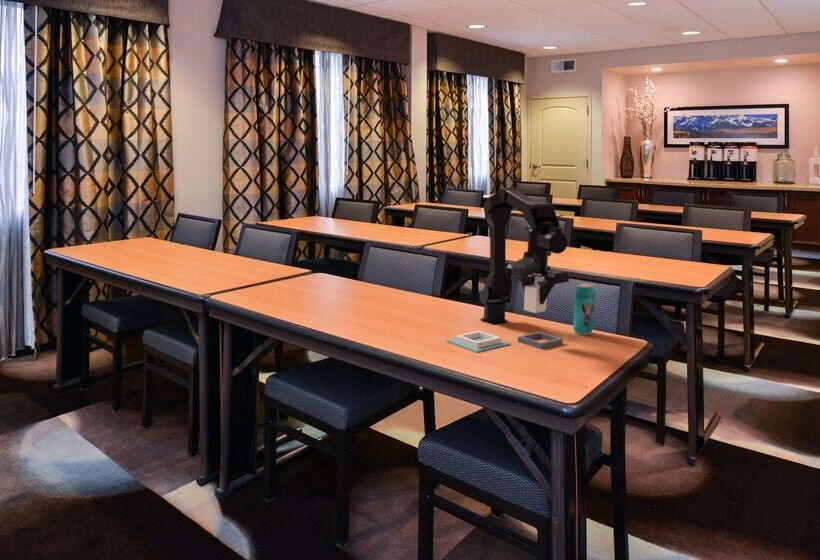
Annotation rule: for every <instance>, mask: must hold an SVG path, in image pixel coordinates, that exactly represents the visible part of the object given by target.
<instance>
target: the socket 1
mask: <svg viewBox="0 0 820 560" xmlns="http://www.w3.org/2000/svg"><path fill="white" fill-rule="evenodd" d="M445 342H447V343H448V344H450V345H451V344H452V345H455V346H457V347H459V348H463V349H465V350H468V351H471V352H474V353H475V354H476V353H481V352H482V353H483V352H486V351H489V350H493V349H494V350H495V349H498V348H502V347H506V346H507V347H508V346H511V343H510V342H507V341H504V340H501V337H500V336H496V335H494V334H490V333H487V332H484V331H481V330H476V331H471V332H466V333H461V334H457V335H455V338H449V339H445Z"/></svg>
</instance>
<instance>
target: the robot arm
mask: <svg viewBox="0 0 820 560" xmlns="http://www.w3.org/2000/svg"><path fill="white" fill-rule="evenodd" d="M482 208H483V212H484V219H485V221H486V223H487V224H488V225H489V273H488V275H487V276H486V279H485V280H484V288H482V290H481V292H480V294H479V295H478V296H479V297H478V298H479V303H482V304H483V306H484V307H483V317H481V318H479V319H480V321H481V322H486V323H489V324H492V325H496V324H501V323H506V322H508V319H506V308H505V307H506V305H505V304H510V302H511V297H512V294H513V287H512V284H513V279H512V278H511V277H509V275H510V276H514V278H515V280H517V281H519V282H520V283H521V286H522V288H523V292H524V293H525V286H528V285H533V284H535V282H536V277H539V278H542V279H541V280H539V281H537V283H536V284H537V285H539V286H540V304H544V302H545V300H546V298H548V296H549V294H550V293H551V291H552V290H553V288H554V287H555V285H559V284H563V283H569V282H570V275H569V273H568V272H567V271H565V270H561V269H560V270H558V269H555V270H551V266H549V265H548V260H549V259H548V258H549V257H550V256H552V253H553V254H556V255H557V254H558V255H559V254H561V253H563V252H564V251H566V249H567V247H568V241H569V240H568V239H567V236H566V235H565V234H564V233H563V232H562V231H563V229H562V227H561V226H560V221H559V219H558V217H557V214H556V211H555V209H554V206H553V204H551V203H550V202H545V201H537V200H534V199H533V198H531V197H530V196H528V195H526V194H524V193H523V192H521V191H520V190H519V189H518V188H516V187H503V188H501V189H500V190H499V191H498V192H496V193H494V194H493V195H490V196H489V197H488V198H487V199H486V201H484V203H483V207H482ZM514 209H515V210H517V211H519V212H520V213H521V214H522V218H523V220H524V221H525V222H526V223H527V224H528V225H527V226H526V227H525V228H524V230H525V231H526V232H528V234H527V250H526V251H524V253H523V257H522V258H521V259H518V260H517V261H515V262H513V263H508V264H507V263H506V257H507V256H506V255H507V253H506V251H507V250H506V247H507V246H506V245H507V243H506V238H507V237H506V233H507V231H506V227H507V225H508V223H509V222H510V220H511V217H512V211H514ZM506 265H507V266H506Z"/></svg>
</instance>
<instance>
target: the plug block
mask: <svg viewBox="0 0 820 560" xmlns="http://www.w3.org/2000/svg"><path fill="white" fill-rule="evenodd" d="M523 295H524V297H523V298H524V300H523V301H524V302H523V310H524V311H525V312H530V313H534V314H536V313H542V312H546V311H547V302H548V301H547V298H548V297H547V298H546V300H545V302H544V304H540V286H539V284H538V283H534V284H533V285H528V286H525V292H524V294H523Z"/></svg>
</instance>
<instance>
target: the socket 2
mask: <svg viewBox="0 0 820 560" xmlns="http://www.w3.org/2000/svg"><path fill="white" fill-rule="evenodd" d="M536 339H542V340H545V341H537V340H536ZM517 342H519V343H522V344H523V345H524V344H525V345H528V346H531V347H534V348H536V349H541V350H543V349H547V348H551V347H555V346H559V345H562V343H563V342H564V339H563V337H559V336H555V335H552V334H549V333H545V332H542V331H535V332H531V333H527V334H524V335H523V334H522V335H519V336H517ZM563 344H564V343H563Z"/></svg>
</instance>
